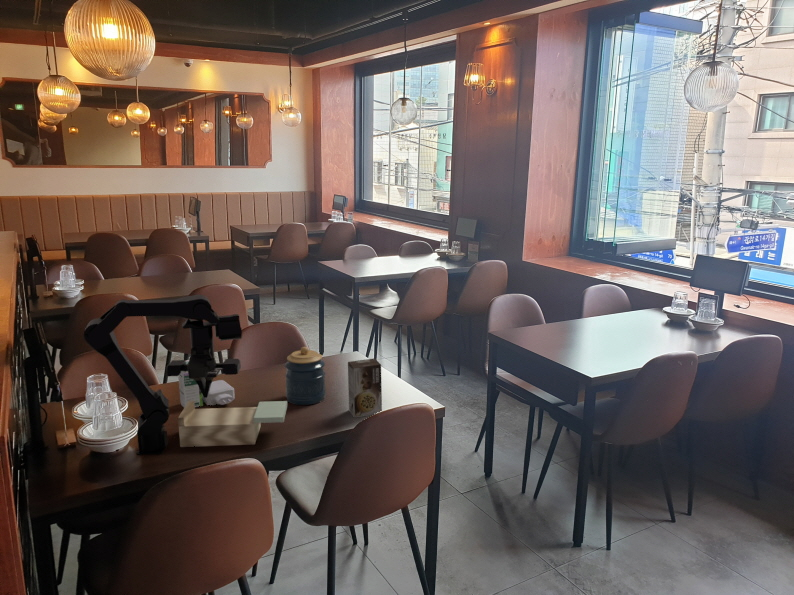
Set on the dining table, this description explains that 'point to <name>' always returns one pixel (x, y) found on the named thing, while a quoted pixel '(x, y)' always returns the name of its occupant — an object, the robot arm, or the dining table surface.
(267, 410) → the pale green flat block
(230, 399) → the charger
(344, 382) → the dining table surface
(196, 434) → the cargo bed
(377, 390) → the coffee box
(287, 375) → the canister
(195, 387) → the syrup box
